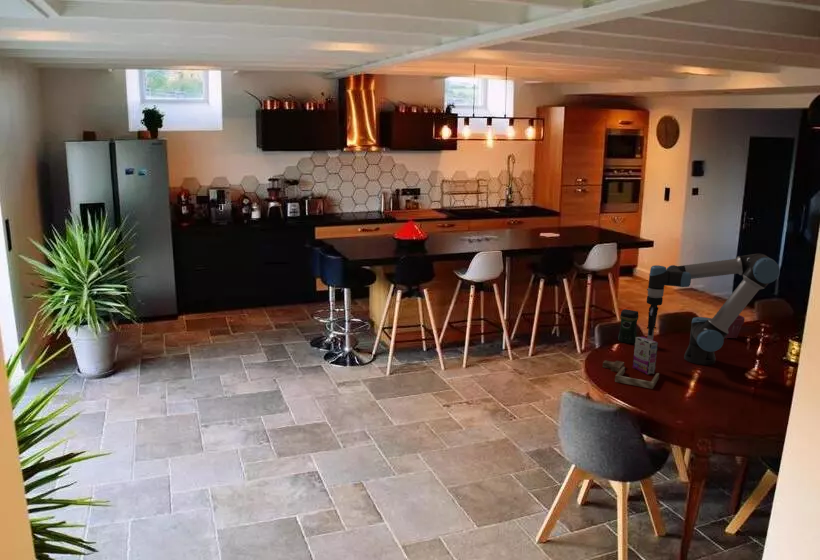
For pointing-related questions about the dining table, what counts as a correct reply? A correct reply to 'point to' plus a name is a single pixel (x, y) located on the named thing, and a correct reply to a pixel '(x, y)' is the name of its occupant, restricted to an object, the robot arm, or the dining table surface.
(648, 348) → the candy bar box
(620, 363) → the walnut T block
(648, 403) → the dining table surface
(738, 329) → the plant pot
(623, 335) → the coffee jar
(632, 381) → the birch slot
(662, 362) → the dining table surface
